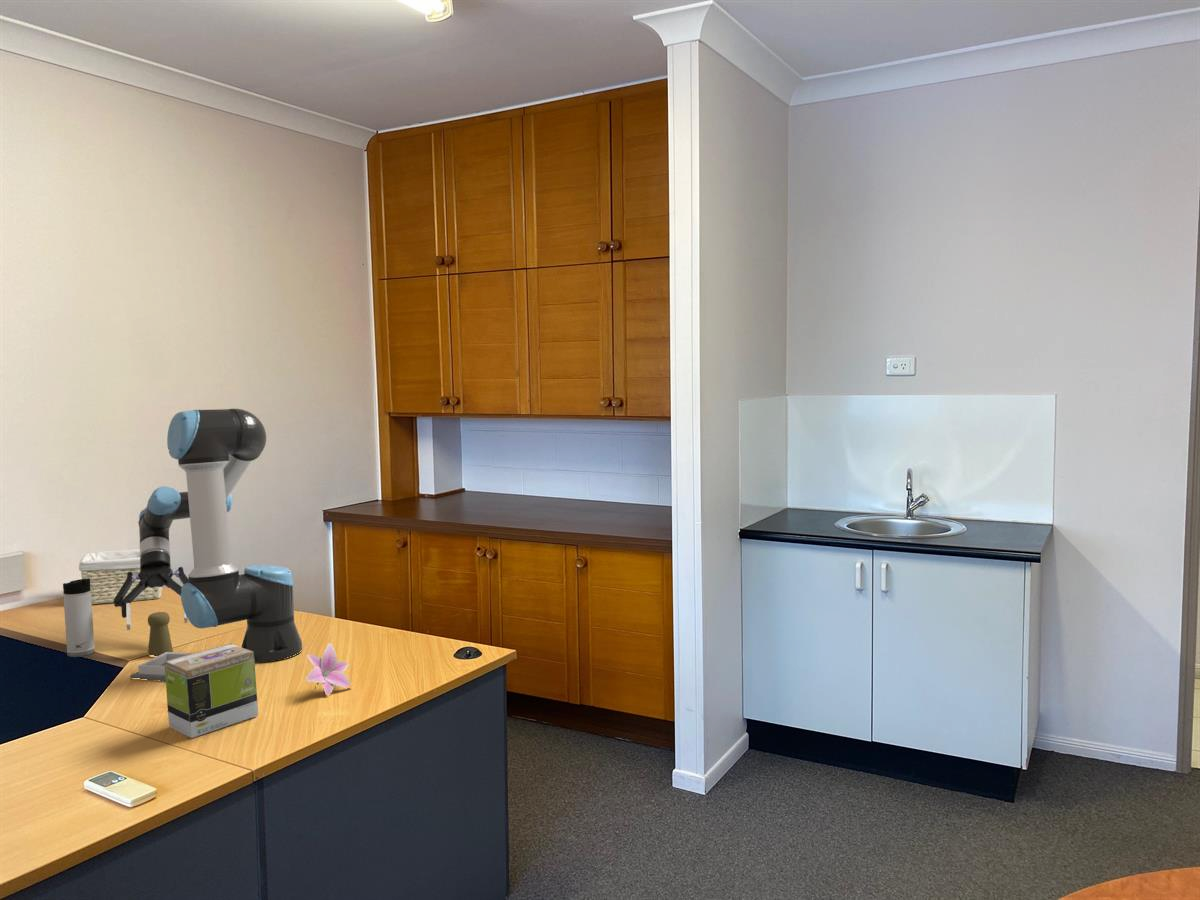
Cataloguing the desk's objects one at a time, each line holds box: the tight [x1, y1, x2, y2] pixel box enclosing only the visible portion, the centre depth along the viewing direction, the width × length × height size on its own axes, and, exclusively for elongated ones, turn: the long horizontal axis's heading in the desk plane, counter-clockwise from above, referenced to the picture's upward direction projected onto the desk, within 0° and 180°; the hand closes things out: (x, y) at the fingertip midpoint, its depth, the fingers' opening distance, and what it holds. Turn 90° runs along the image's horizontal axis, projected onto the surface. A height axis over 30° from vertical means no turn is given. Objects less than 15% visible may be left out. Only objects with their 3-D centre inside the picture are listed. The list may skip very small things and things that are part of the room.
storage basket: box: [78, 548, 164, 605], centre depth 290 cm, size 24×16×15 cm
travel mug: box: [62, 578, 96, 658], centre depth 233 cm, size 6×7×20 cm
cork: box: [147, 611, 174, 656], centre depth 233 cm, size 6×6×11 cm
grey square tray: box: [130, 651, 193, 682], centre depth 220 cm, size 13×13×3 cm
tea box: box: [165, 642, 259, 739], centre depth 188 cm, size 15×10×15 cm, turn 141°
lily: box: [305, 642, 352, 696], centre depth 207 cm, size 12×12×10 cm
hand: (157, 623), depth 235 cm, fingers open, 13 cm apart
